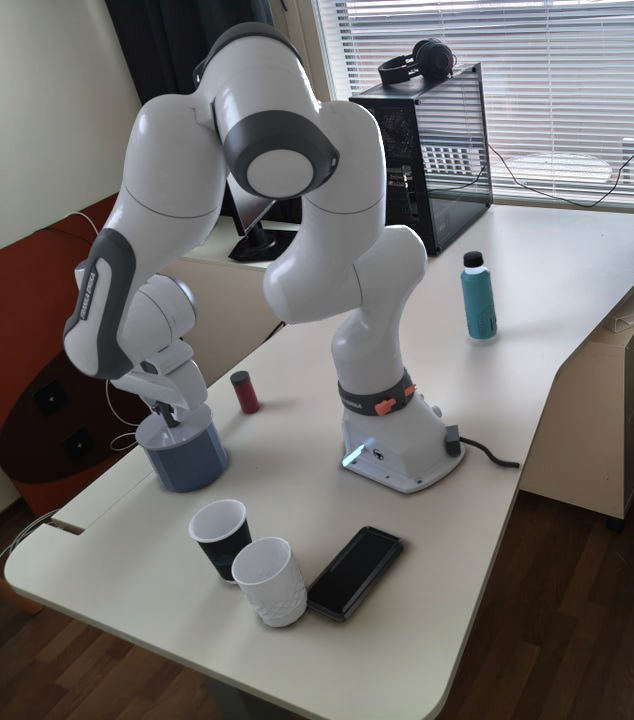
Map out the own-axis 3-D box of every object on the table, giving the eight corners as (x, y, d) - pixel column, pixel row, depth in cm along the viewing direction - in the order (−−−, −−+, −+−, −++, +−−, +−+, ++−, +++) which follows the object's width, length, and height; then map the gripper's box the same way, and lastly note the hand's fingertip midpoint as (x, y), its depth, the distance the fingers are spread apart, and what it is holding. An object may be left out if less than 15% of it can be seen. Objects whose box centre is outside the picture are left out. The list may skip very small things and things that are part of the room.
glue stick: (263, 407, 138) (252, 374, 133) (247, 416, 136) (235, 383, 131) (254, 400, 140) (243, 368, 136) (238, 409, 138) (226, 377, 134)
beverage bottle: (495, 346, 147) (486, 261, 136) (465, 345, 149) (453, 261, 138) (501, 330, 152) (492, 246, 141) (471, 330, 154) (460, 247, 143)
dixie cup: (249, 542, 108) (228, 491, 102) (277, 567, 103) (256, 515, 97) (203, 574, 103) (178, 523, 97) (230, 602, 98) (205, 550, 92)
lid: (226, 424, 118) (215, 395, 115) (156, 463, 112) (141, 434, 108) (194, 397, 126) (182, 369, 123) (126, 433, 119) (111, 404, 116)
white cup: (290, 574, 101) (267, 528, 96) (324, 599, 97) (302, 551, 91) (246, 614, 97) (219, 567, 91) (279, 642, 92) (254, 594, 86)
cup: (239, 465, 124) (221, 421, 118) (178, 502, 117) (156, 458, 112) (209, 439, 131) (191, 397, 125) (150, 472, 125) (128, 430, 119)
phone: (405, 540, 103) (341, 619, 93) (406, 545, 104) (342, 624, 93) (364, 523, 107) (297, 597, 96) (365, 528, 107) (299, 602, 97)
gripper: (81, 346, 112) (115, 413, 120) (166, 370, 103) (198, 441, 111) (114, 327, 117) (144, 393, 124) (198, 348, 108) (226, 417, 115)
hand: (170, 415), depth 117 cm, fingers open, 4 cm apart
